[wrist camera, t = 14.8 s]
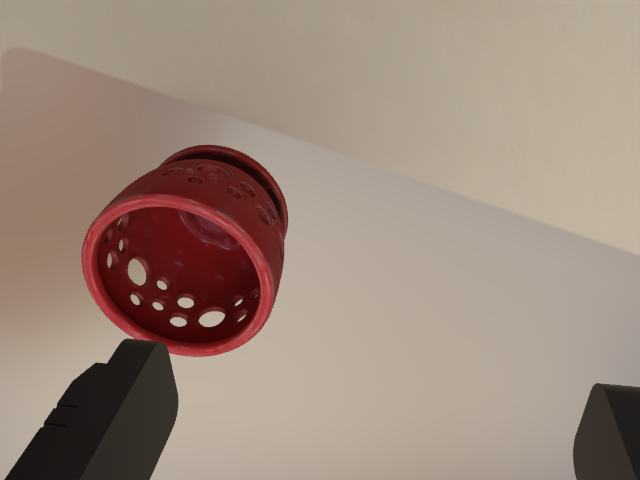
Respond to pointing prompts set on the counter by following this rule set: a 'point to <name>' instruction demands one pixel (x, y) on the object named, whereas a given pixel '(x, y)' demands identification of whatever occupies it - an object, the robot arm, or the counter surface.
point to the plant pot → (191, 250)
